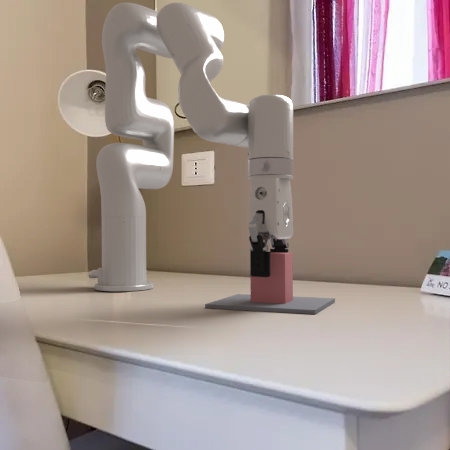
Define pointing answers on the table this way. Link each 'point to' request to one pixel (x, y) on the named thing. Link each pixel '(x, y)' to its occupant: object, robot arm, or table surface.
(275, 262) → the pink rectangular block
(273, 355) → the table surface
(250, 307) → the mat
